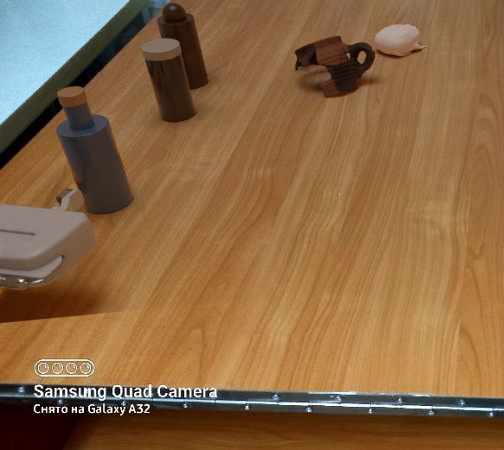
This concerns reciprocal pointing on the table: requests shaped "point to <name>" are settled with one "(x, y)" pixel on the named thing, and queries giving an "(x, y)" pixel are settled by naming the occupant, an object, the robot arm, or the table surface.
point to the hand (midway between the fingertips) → (32, 190)
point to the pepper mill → (184, 41)
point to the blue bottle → (92, 154)
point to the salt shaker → (169, 79)
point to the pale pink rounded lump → (398, 39)
